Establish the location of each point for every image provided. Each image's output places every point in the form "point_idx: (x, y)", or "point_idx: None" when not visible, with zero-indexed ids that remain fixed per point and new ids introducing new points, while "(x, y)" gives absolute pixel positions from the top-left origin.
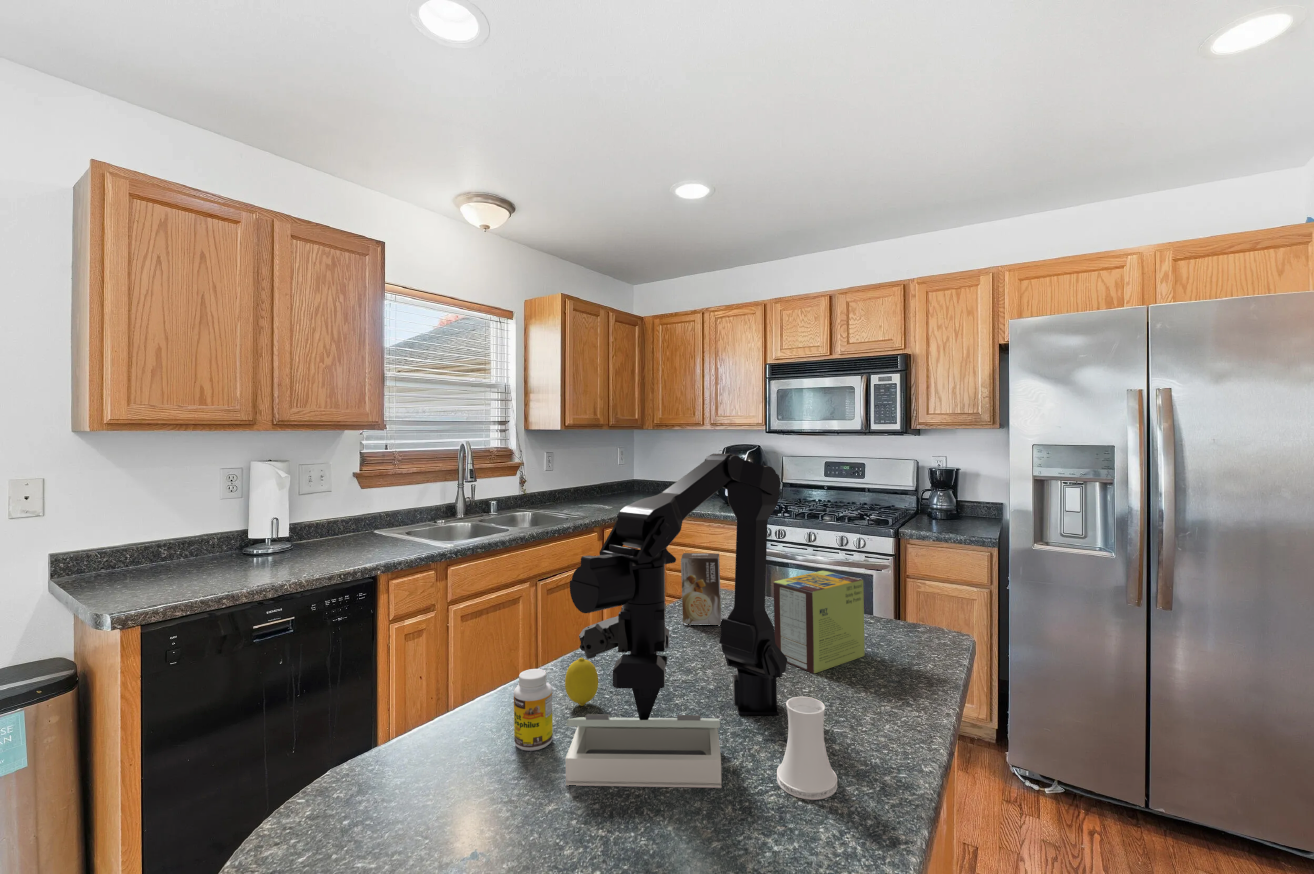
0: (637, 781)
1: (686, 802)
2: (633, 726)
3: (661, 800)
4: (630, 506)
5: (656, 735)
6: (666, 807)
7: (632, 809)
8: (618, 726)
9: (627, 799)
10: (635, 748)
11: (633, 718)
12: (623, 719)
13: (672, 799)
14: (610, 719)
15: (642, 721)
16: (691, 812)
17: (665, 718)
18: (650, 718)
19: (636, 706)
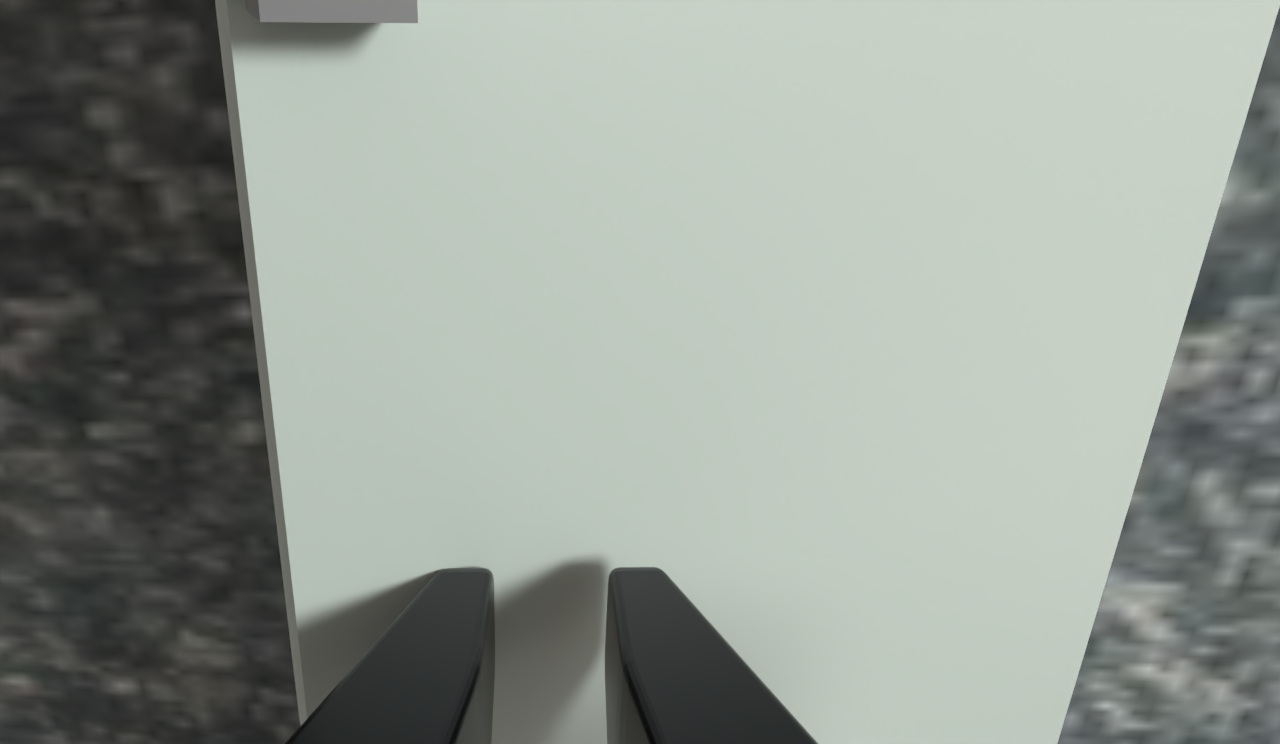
0: None
1: (207, 588)
2: (270, 466)
3: (203, 426)
4: None
5: None
6: (121, 461)
7: (37, 205)
8: (240, 211)
9: (170, 154)
10: None
11: (967, 334)
12: (515, 287)
13: (229, 501)
14: (447, 32)
15: (300, 638)
16: (97, 614)
17: (963, 682)
18: (967, 537)
19: (305, 724)
